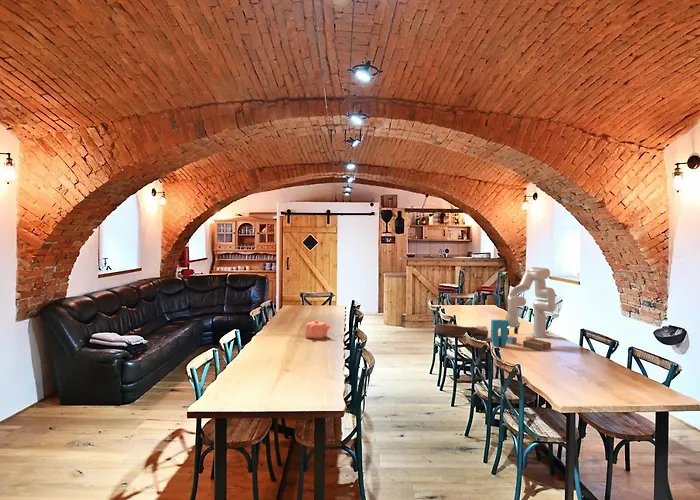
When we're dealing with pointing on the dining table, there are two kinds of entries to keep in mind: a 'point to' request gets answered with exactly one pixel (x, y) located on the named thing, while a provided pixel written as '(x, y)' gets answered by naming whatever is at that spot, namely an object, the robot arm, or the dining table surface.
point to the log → (460, 331)
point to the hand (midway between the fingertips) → (511, 334)
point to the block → (503, 336)
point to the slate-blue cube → (512, 340)
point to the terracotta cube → (529, 338)
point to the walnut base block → (536, 345)
